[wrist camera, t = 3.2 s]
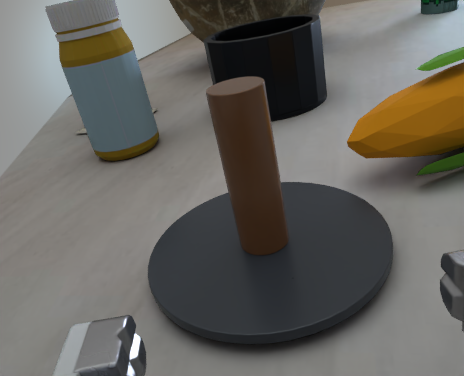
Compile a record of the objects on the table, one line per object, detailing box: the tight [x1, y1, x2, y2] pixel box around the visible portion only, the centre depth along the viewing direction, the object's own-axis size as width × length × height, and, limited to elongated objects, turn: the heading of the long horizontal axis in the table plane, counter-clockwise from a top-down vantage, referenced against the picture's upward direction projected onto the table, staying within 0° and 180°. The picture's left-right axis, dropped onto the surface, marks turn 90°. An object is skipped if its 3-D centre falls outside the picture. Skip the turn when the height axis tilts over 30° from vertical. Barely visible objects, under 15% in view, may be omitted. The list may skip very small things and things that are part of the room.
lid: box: [148, 77, 393, 344], centre depth 22 cm, size 14×14×10 cm
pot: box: [204, 14, 327, 121], centre depth 48 cm, size 13×13×8 cm
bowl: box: [169, 0, 325, 42], centre depth 72 cm, size 28×27×15 cm
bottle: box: [46, 0, 159, 161], centre depth 42 cm, size 7×7×15 cm
